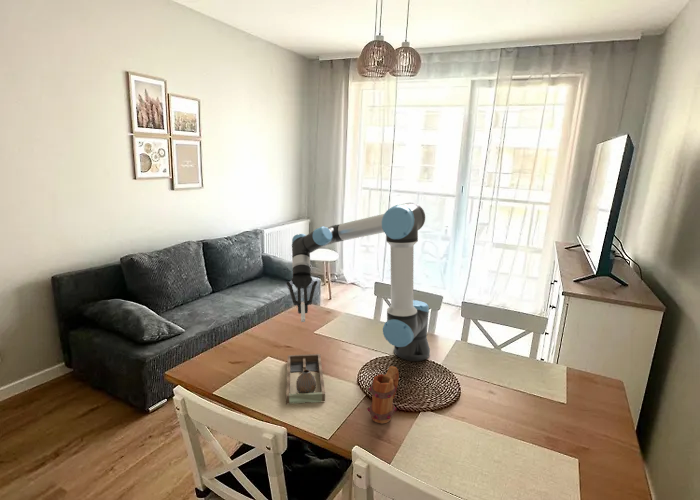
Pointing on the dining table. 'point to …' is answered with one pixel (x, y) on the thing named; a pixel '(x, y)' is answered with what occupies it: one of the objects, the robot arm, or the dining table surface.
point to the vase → (306, 382)
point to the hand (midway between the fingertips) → (303, 320)
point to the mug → (383, 395)
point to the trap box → (298, 365)
